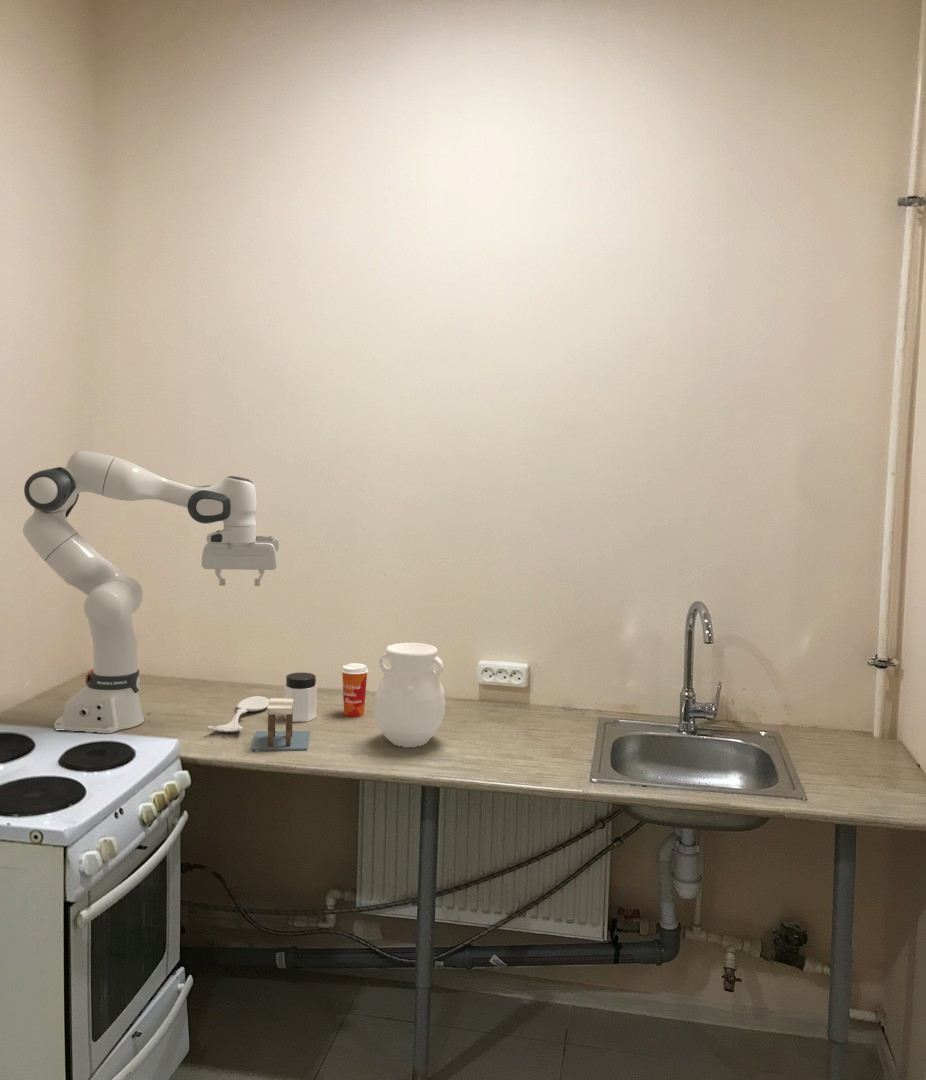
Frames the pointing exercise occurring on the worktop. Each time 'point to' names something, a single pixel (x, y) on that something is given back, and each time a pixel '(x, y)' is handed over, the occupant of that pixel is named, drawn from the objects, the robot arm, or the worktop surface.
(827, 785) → the worktop surface
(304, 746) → the mat
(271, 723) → the stool
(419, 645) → the white vase
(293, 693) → the jar
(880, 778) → the worktop surface
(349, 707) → the paper cup
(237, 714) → the white spork
